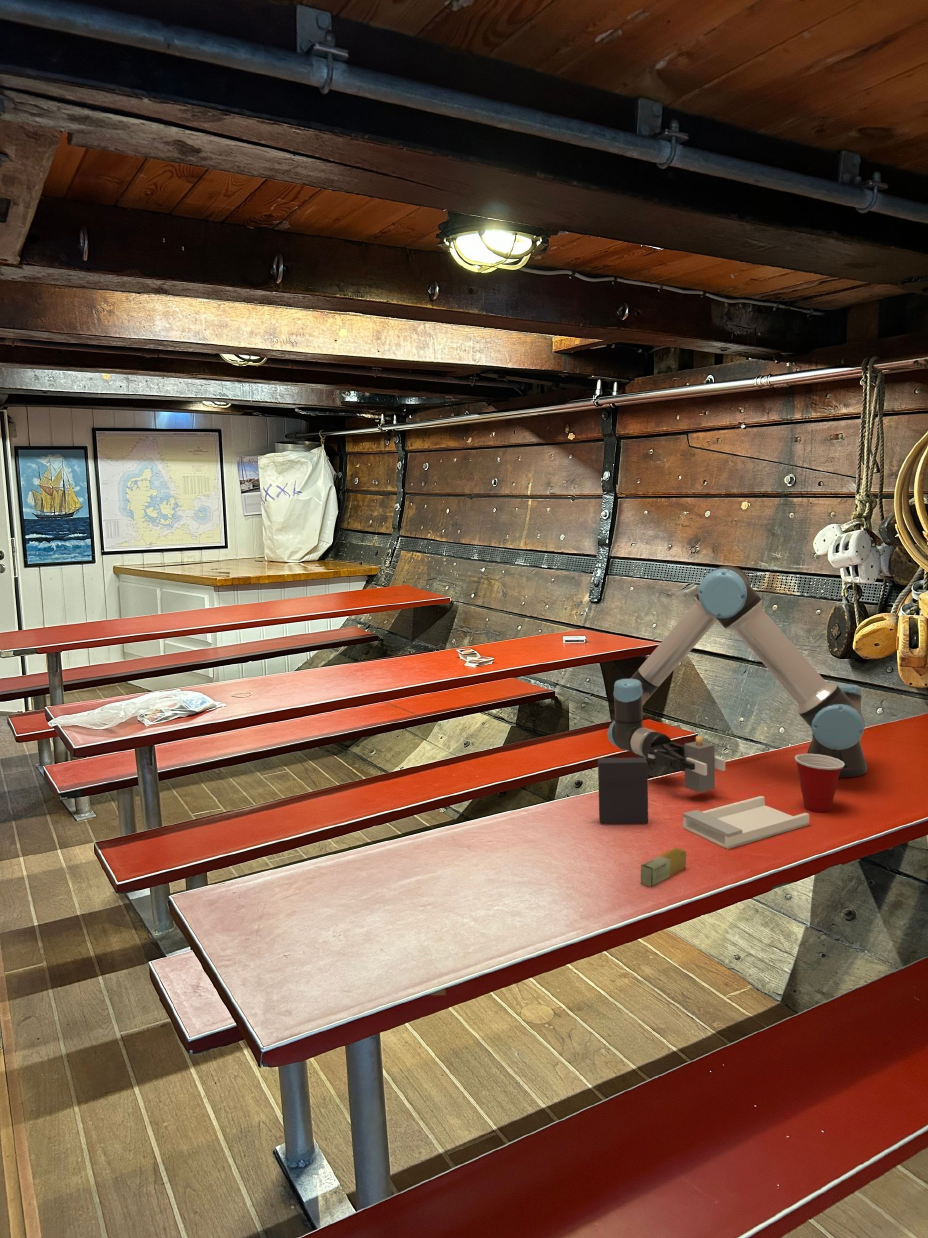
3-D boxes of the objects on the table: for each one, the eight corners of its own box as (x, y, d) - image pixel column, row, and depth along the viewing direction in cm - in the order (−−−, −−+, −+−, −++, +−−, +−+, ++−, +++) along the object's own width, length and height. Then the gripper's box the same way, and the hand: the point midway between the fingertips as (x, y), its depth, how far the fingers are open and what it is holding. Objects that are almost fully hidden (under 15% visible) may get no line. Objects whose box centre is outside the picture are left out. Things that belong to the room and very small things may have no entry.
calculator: (646, 818, 199) (645, 756, 197) (648, 825, 195) (647, 762, 193) (599, 818, 200) (597, 757, 198) (600, 825, 196) (598, 762, 194)
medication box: (651, 888, 165) (651, 869, 164) (639, 884, 167) (639, 864, 166) (686, 868, 173) (686, 850, 172) (675, 864, 175) (675, 846, 174)
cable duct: (761, 806, 203) (761, 792, 203) (809, 825, 191) (809, 810, 191) (683, 827, 193) (682, 813, 192) (728, 849, 180) (728, 834, 180)
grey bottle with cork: (700, 783, 213) (699, 732, 212) (714, 788, 209) (714, 737, 207) (685, 787, 211) (684, 736, 209) (699, 792, 207) (698, 740, 205)
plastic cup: (851, 816, 195) (853, 765, 194) (804, 817, 196) (804, 767, 194) (832, 799, 206) (833, 751, 204) (787, 800, 206) (787, 752, 205)
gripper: (679, 752, 230) (743, 775, 209) (624, 765, 222) (686, 790, 201) (678, 725, 229) (743, 745, 208) (624, 737, 221) (685, 759, 200)
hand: (714, 767), depth 205 cm, fingers closed on grey bottle with cork, 5 cm apart
